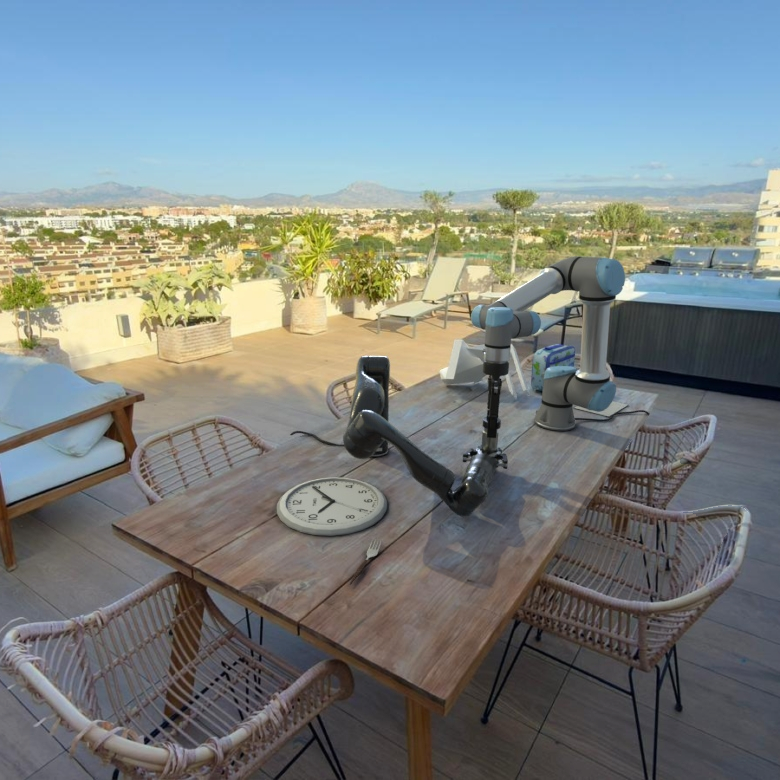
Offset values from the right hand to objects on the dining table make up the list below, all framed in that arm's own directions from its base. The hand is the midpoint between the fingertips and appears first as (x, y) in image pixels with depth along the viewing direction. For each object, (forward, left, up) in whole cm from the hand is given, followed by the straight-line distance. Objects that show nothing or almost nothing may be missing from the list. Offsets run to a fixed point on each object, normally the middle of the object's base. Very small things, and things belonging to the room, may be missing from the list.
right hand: (490, 433), depth 161 cm
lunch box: (-35, -95, -13) cm, 102 cm away
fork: (+31, +53, -13) cm, 63 cm away
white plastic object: (-1, -83, -13) cm, 84 cm away
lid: (0, 0, +4) cm, 4 cm away
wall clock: (+44, +28, -13) cm, 53 cm away
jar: (0, 0, -13) cm, 13 cm away
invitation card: (-53, -71, -13) cm, 89 cm away
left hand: (0, -2, -6) cm, 7 cm away
